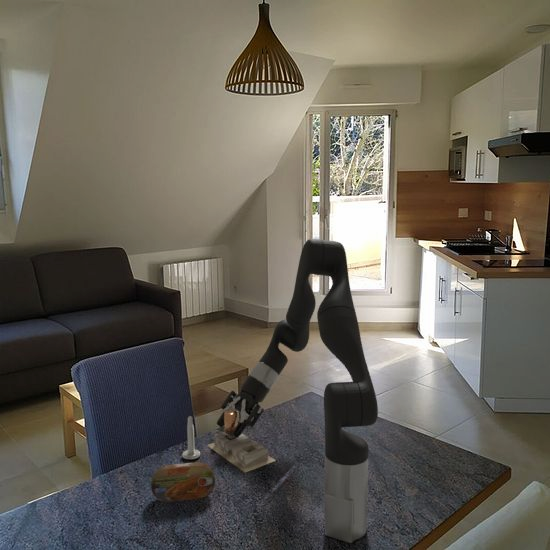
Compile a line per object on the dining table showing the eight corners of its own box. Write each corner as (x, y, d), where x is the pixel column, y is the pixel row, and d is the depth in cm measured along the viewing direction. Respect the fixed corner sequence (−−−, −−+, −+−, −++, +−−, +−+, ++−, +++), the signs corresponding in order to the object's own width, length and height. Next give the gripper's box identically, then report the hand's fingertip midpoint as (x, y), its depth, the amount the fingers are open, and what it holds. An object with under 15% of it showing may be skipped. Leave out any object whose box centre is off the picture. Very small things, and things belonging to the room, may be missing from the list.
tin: (151, 503, 132) (150, 470, 131) (152, 496, 135) (150, 464, 134) (215, 497, 135) (214, 465, 133) (214, 490, 138) (214, 459, 136)
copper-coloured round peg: (233, 450, 155) (232, 416, 153) (222, 447, 157) (221, 414, 155) (240, 445, 158) (239, 411, 157) (229, 442, 160) (228, 409, 158)
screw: (198, 455, 155) (202, 463, 151) (180, 458, 153) (184, 466, 149) (196, 411, 153) (201, 417, 149) (179, 413, 151) (183, 420, 147)
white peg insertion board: (275, 464, 150) (275, 450, 149) (245, 476, 144) (244, 461, 143) (236, 439, 165) (236, 425, 164) (207, 449, 159) (206, 435, 158)
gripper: (238, 368, 164) (204, 416, 159) (267, 382, 153) (232, 433, 148) (253, 381, 168) (221, 428, 163) (282, 395, 157) (249, 446, 152)
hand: (226, 430), depth 156 cm, fingers open, 7 cm apart
